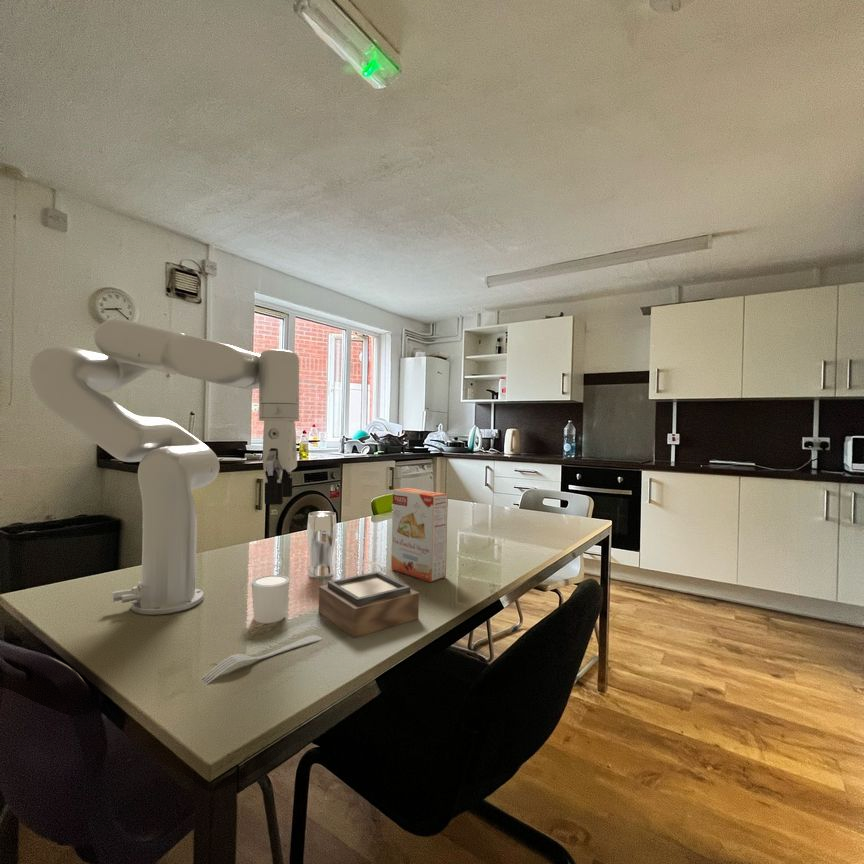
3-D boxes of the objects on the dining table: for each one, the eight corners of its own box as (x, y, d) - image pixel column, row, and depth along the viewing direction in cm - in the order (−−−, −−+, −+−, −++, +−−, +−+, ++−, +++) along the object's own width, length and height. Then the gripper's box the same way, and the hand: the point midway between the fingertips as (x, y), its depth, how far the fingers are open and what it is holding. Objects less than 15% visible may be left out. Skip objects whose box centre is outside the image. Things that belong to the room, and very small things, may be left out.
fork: (325, 654, 80) (327, 638, 80) (202, 690, 64) (205, 669, 65) (315, 649, 82) (317, 633, 82) (194, 682, 66) (196, 662, 67)
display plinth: (354, 637, 81) (354, 603, 81) (318, 611, 92) (319, 581, 92) (418, 618, 90) (419, 587, 90) (379, 596, 100) (379, 569, 100)
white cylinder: (244, 616, 89) (245, 579, 89) (278, 607, 93) (279, 572, 93) (260, 627, 84) (261, 589, 84) (295, 617, 89) (296, 580, 89)
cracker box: (389, 570, 119) (391, 488, 119) (406, 565, 124) (408, 486, 124) (430, 583, 110) (432, 495, 110) (446, 577, 115) (449, 492, 114)
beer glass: (299, 575, 113) (301, 514, 113) (319, 568, 119) (320, 510, 119) (322, 580, 110) (323, 517, 110) (341, 573, 116) (342, 512, 116)
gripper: (290, 412, 84) (290, 507, 84) (305, 415, 101) (305, 494, 101) (247, 412, 83) (247, 508, 83) (269, 414, 100) (269, 494, 100)
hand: (279, 500), depth 92 cm, fingers open, 9 cm apart
